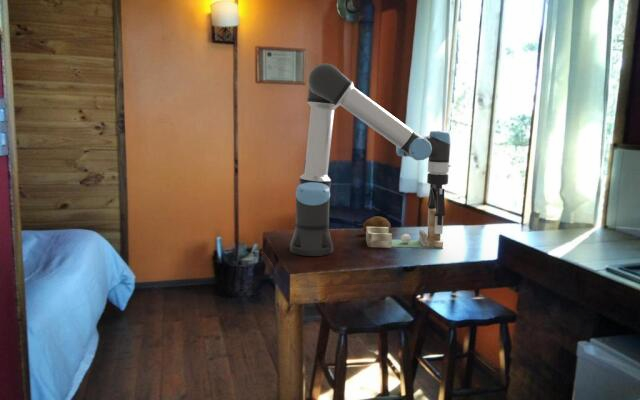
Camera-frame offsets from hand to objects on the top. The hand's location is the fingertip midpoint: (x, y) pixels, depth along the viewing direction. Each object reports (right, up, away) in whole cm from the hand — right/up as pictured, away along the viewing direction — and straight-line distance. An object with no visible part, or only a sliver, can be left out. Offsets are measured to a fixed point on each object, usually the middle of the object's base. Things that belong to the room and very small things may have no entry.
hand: (434, 229), depth 194 cm
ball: (-11, -4, +1) cm, 11 cm away
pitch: (-11, -6, +1) cm, 12 cm away
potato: (-20, -3, +15) cm, 25 cm away
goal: (-21, -5, +1) cm, 21 cm away
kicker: (-1, -6, +1) cm, 6 cm away
